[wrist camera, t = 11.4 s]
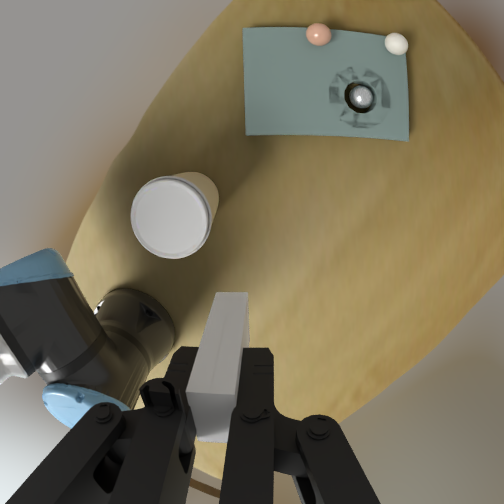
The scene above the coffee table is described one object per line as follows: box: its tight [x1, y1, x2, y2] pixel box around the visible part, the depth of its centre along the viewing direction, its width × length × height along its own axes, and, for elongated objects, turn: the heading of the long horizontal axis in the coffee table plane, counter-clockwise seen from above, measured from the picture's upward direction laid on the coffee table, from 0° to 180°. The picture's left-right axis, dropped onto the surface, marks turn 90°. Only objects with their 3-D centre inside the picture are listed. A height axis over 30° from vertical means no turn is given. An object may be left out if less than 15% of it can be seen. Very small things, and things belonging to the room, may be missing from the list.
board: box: [243, 27, 409, 141], centre depth 36 cm, size 22×15×2 cm
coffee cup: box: [131, 172, 219, 259], centre depth 38 cm, size 9×9×12 cm
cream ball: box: [385, 33, 408, 55], centre depth 31 cm, size 3×3×3 cm
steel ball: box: [349, 86, 373, 108], centre depth 36 cm, size 3×3×3 cm
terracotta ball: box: [306, 23, 331, 46], centre depth 31 cm, size 3×3×3 cm
